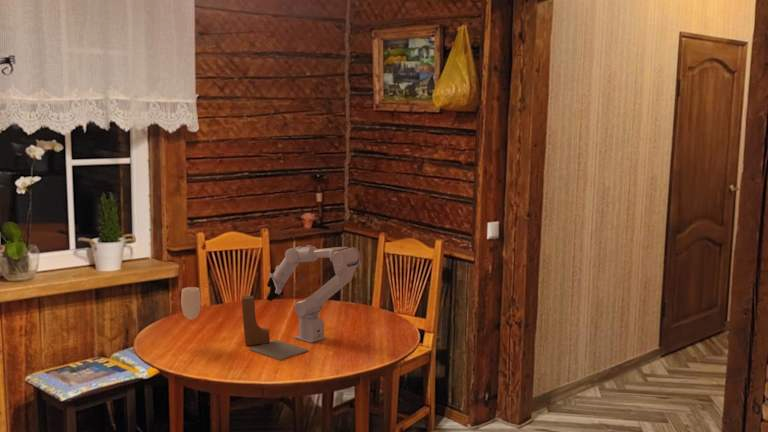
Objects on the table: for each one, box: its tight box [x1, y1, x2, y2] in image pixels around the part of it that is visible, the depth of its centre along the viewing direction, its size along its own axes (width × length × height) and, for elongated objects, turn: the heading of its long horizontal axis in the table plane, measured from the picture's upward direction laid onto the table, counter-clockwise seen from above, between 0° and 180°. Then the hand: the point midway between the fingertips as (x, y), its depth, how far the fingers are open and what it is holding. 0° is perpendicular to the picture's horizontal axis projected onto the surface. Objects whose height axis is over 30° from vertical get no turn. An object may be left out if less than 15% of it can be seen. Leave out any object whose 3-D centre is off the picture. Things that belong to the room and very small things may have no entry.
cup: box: [180, 286, 202, 321], centre depth 286 cm, size 7×7×21 cm
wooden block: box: [241, 295, 271, 346], centre depth 286 cm, size 9×4×18 cm, turn 99°
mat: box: [248, 339, 309, 362], centre depth 281 cm, size 17×14×1 cm
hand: (269, 293), depth 306 cm, fingers open, 7 cm apart
